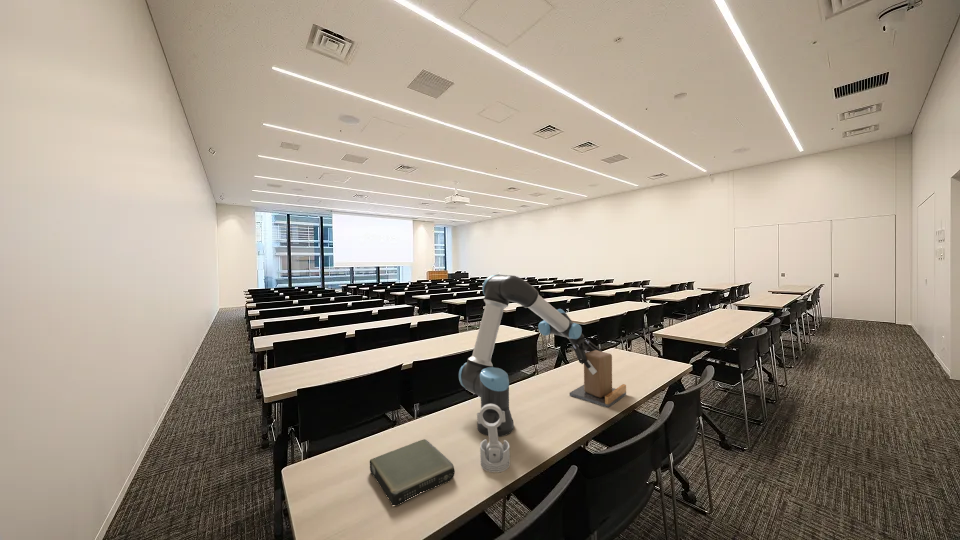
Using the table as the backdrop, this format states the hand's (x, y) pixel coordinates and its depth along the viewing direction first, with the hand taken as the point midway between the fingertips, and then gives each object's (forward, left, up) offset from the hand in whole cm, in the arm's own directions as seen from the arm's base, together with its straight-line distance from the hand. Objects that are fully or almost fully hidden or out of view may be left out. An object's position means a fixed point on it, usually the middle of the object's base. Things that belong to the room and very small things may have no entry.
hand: (601, 369), depth 166 cm
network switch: (-17, -99, -14) cm, 101 cm away
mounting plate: (-2, 0, -13) cm, 14 cm away
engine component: (-2, -76, -14) cm, 77 cm away
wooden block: (-2, -1, -12) cm, 12 cm away
